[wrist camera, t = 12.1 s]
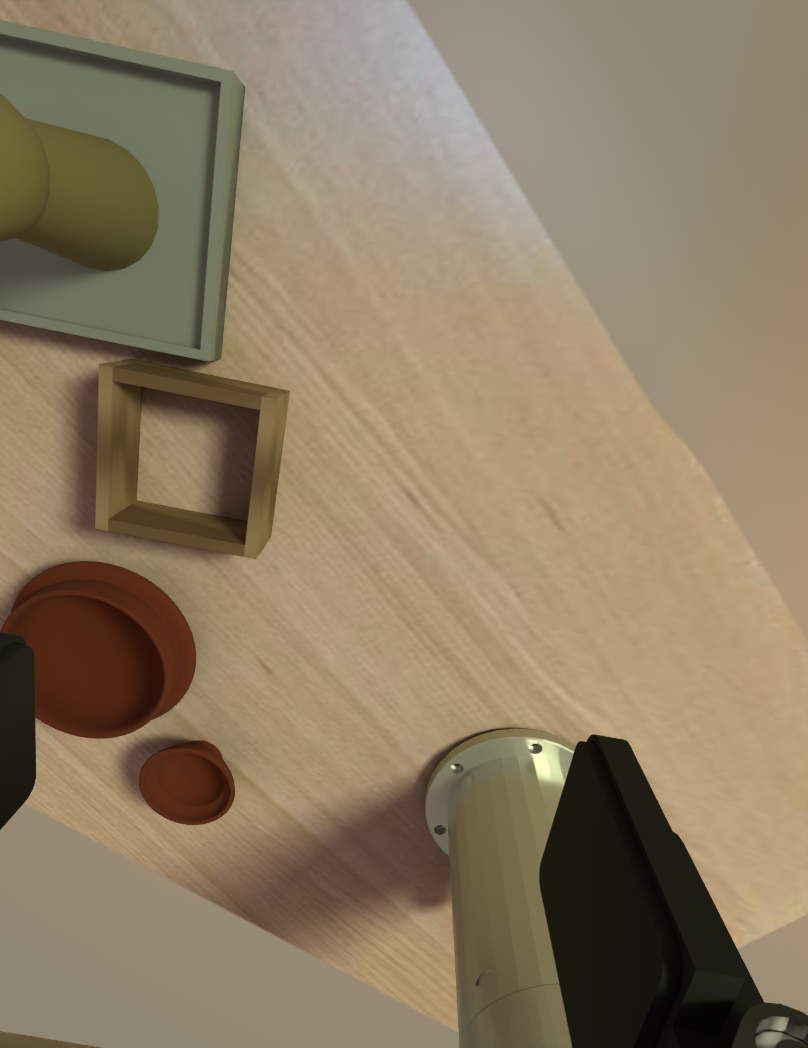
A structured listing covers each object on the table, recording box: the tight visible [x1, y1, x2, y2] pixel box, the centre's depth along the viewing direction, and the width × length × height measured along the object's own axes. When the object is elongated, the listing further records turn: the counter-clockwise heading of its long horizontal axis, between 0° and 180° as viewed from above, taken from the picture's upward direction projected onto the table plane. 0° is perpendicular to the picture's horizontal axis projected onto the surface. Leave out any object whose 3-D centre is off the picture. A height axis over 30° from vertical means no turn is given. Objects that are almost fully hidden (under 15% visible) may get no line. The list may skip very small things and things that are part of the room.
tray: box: [0, 20, 245, 361], centre depth 30 cm, size 13×13×2 cm
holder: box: [95, 359, 290, 559], centre depth 34 cm, size 9×9×4 cm
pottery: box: [1, 561, 235, 825], centre depth 39 cm, size 12×20×4 cm, turn 24°
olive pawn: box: [0, 94, 159, 271], centre depth 25 cm, size 6×6×11 cm
